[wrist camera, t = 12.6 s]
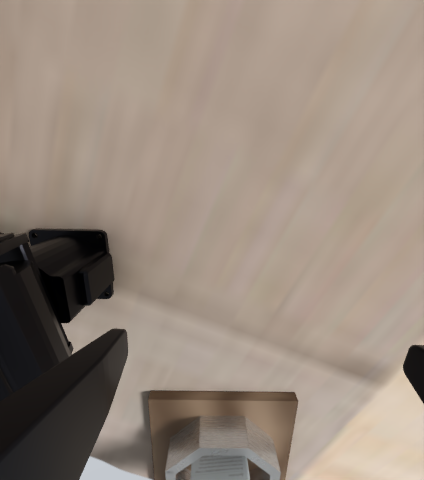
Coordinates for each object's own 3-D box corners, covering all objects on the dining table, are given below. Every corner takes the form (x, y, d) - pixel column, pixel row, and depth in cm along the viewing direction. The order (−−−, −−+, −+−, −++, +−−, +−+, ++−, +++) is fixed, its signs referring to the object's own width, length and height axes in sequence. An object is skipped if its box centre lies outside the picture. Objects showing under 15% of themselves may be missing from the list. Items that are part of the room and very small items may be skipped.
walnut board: (157, 485, 29) (155, 496, 28) (150, 390, 24) (148, 399, 23) (279, 486, 29) (282, 497, 28) (294, 392, 24) (298, 401, 23)
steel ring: (172, 485, 27) (167, 522, 24) (169, 414, 24) (163, 447, 21) (266, 485, 27) (273, 522, 24) (275, 416, 24) (284, 448, 21)
